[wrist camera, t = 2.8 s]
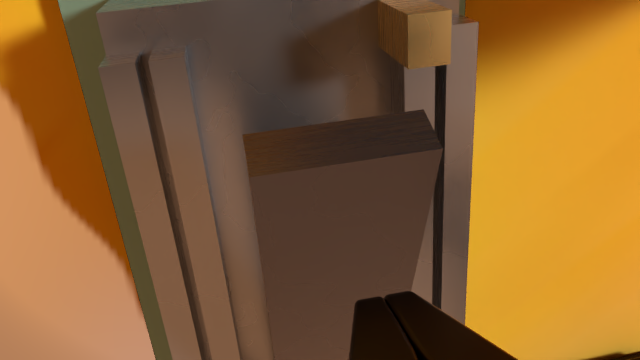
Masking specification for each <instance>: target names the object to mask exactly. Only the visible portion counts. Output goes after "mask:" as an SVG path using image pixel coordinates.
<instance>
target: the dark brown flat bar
mask: <svg viewBox="0 0 640 360" xmlns="http://www.w3.org/2000/svg"><path fill="white" fill-rule="evenodd" d="M242 136H243V143H244V150H245V157H246V164H247V171H248V178H249V185H250V192H251V199H252V206H253V213H254V220H255V227H256V234H257V241H258V248H259V255H260V262H261V269H262V276H263V283H264V290H265V296H266V303H267V310H268V317H269V324H270V331H271V338H272V345H273V352H274V359H275V360H349V351H350V342H351V333H352V324H353V315H354V306H355V303H356V301H357V300H360V299H366V298H371V297H377V296H380V297H382V298H384V297H385V296H386V295H388V294H393V293H398V292H404V291H411V290H412V285H413V281H414V276H415V272H416V267H417V263H418V258H419V254H420V249H421V245H422V240H423V236H424V232H425V227H426V223H427V218H428V214H429V209H430V205H431V200H432V196H433V191H434V187H435V182H436V178H437V173H438V169H439V165H440V160H441V156H442V151H443V147H442V145H441V143H440V141H439V139H438V137H437V135H436V133H435V131H434V129H433V127H432V125H431V123H430V121H429V119H428V117H427V115H426V113H425V111H424V109H422V110H415V111H407V112H400V113H393V114H386V115H379V116H372V117H364V118H357V119H350V120H343V121H336V122H329V123H321V124H314V125H307V126H300V127H293V128H286V129H278V130H271V131H264V132H257V133H250V134H243V135H242Z"/></svg>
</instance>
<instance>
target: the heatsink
mask: <svg viewBox="0 0 640 360" xmlns="http://www.w3.org/2000/svg"><path fill="white" fill-rule="evenodd" d="M96 17H97V21H98V25H99V29H100V33H101V37H102V41H103V45H104V49H105V53H106V56H105V58H104V59H103V61H102V62H101V64H100V65H99V67H98V70H99V74H100V78H101V82H102V86H103V90H104V93H105V97H106V101H107V105H108V109H109V113H110V117H111V121H112V125H113V129H114V133H115V136H116V140H117V144H118V148H119V152H120V156H121V160H122V164H123V168H124V172H125V176H126V179H127V183H128V187H129V191H130V195H131V199H132V203H133V207H134V211H135V215H136V219H137V222H138V226H139V230H140V234H141V238H142V242H143V246H144V250H145V254H146V258H147V262H148V265H149V269H150V273H151V277H152V281H153V285H154V289H155V293H156V297H157V301H158V304H159V308H160V312H161V316H162V320H163V324H164V328H165V332H166V336H167V340H168V344H169V347H170V351H171V355H172V359H173V360H275V359H274V352H273V345H272V338H271V331H270V324H269V317H268V310H267V303H266V296H265V290H264V283H263V276H262V269H261V262H260V255H259V248H258V241H257V234H256V227H255V220H254V213H253V206H252V199H251V192H250V185H249V178H248V171H247V164H246V157H245V150H244V143H243V136H242V135H243V134H250V133H257V132H264V131H271V130H278V129H286V128H293V127H300V126H307V125H314V124H321V123H329V122H336V121H343V120H350V119H357V118H364V117H372V116H379V115H386V114H393V113H400V112H407V111H415V110H422V109H424V111H425V113H426V115H427V117H428V119H429V121H430V123H431V125H432V127H433V129H434V131H435V133H436V135H437V137H438V139H439V141H440V143H441V145H442V147H443V151H442V156H441V160H440V165H439V169H438V173H437V178H436V182H435V187H434V191H433V196H432V200H431V205H430V209H429V214H428V218H427V223H426V227H425V232H424V236H423V240H422V245H421V249H420V254H419V258H418V263H417V267H416V272H415V276H414V281H413V285H412V290H411V291H412V292H414V293H416V294H417V295H419V296H420V297H422V298H423V299H425V300H426V301H428V302H430V303H431V304H433V305H434V306H436V307H437V308H439V309H440V310H442V311H443V312H445V313H447V314H448V315H450V316H451V317H453V318H454V319H456V320H457V321H459V322H460V323H462V324H464V325H465V307H466V286H467V264H468V242H469V221H470V199H471V178H472V156H473V135H474V113H475V92H476V70H477V49H478V27H479V22H478V21H475V20H473V19H470V18H468V17H465V16H463V15H460V14H459V0H109V1H108V2H107V3H106V4H104V5H103V6H102V7H101V8H100V9H99V10H98V11H97V12H96Z"/></svg>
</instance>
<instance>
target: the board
mask: <svg viewBox="0 0 640 360" xmlns="http://www.w3.org/2000/svg"><path fill="white" fill-rule="evenodd" d="M108 1H109V0H58V3H59V7H60V11H61V14H62V18H63V22H64V25H65V29H66V33H67V36H68V40H69V44H70V47H71V51H72V55H73V58H74V62H75V66H76V69H77V73H78V77H79V80H80V84H81V88H82V91H83V95H84V99H85V102H86V106H87V110H88V113H89V117H90V121H91V124H92V128H93V131H94V135H95V139H96V142H97V146H98V150H99V153H100V157H101V161H102V164H103V168H104V172H105V175H106V179H107V183H108V186H109V190H110V194H111V197H112V201H113V205H114V208H115V212H116V216H117V219H118V223H119V227H120V230H121V234H122V238H123V241H124V245H125V249H126V252H127V256H128V260H129V263H130V267H131V271H132V274H133V278H134V281H135V285H136V289H137V292H138V296H139V300H140V303H141V307H142V311H143V314H144V318H145V322H146V325H147V329H148V333H149V336H150V340H151V344H152V347H153V351H154V355H155V358H156V360H173V359H172V355H171V351H170V347H169V344H168V340H167V336H166V332H165V328H164V324H163V320H162V316H161V312H160V308H159V304H158V301H157V297H156V293H155V289H154V285H153V281H152V277H151V273H150V269H149V265H148V262H147V258H146V254H145V250H144V246H143V242H142V238H141V234H140V230H139V226H138V222H137V219H136V215H135V211H134V207H133V203H132V199H131V195H130V191H129V187H128V183H127V179H126V176H125V172H124V168H123V164H122V160H121V156H120V152H119V148H118V144H117V140H116V136H115V133H114V129H113V125H112V121H111V117H110V113H109V109H108V105H107V101H106V97H105V93H104V90H103V86H102V82H101V78H100V74H99V70H98V67H99V65H100V64H101V62H102V61H103V59H104V58H105V56H106V53H105V49H104V45H103V41H102V37H101V33H100V29H99V25H98V21H97V17H96V12H97V11H98V10H99V9H100V8H101V7H102V6H103V5H104V4H106V3H107V2H108ZM459 14H460V15H463V16H465V0H459Z"/></svg>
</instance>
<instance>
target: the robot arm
mask: <svg viewBox="0 0 640 360" xmlns="http://www.w3.org/2000/svg"><path fill="white" fill-rule="evenodd" d="M349 360H518V359H516V358H515V357H513V356H511V355H510V354H508V353H507V352H505V351H504V350H502V349H501V348H499V347H498V346H496V345H494V344H493V343H491V342H490V341H488V340H487V339H485V338H484V337H482V336H481V335H479V334H477V333H476V332H474V331H473V330H471V329H470V328H468V327H467V326H465V325H464V324H462V323H460V322H459V321H457V320H456V319H454V318H453V317H451V316H450V315H448V314H447V313H445V312H443V311H442V310H440V309H439V308H437V307H436V306H434V305H433V304H431V303H430V302H428V301H426V300H425V299H423V298H422V297H420V296H419V295H417V294H416V293H414V292H412V291H404V292H398V293H393V294H388V295H386V296H385V297H384V298H382V297H380V296H377V297H371V298H366V299H360V300H357V301H356V303H355V306H354V315H353V324H352V333H351V342H350V351H349ZM614 360H640V354H637V355H633V356H628V357H623V358H618V359H614Z"/></svg>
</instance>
